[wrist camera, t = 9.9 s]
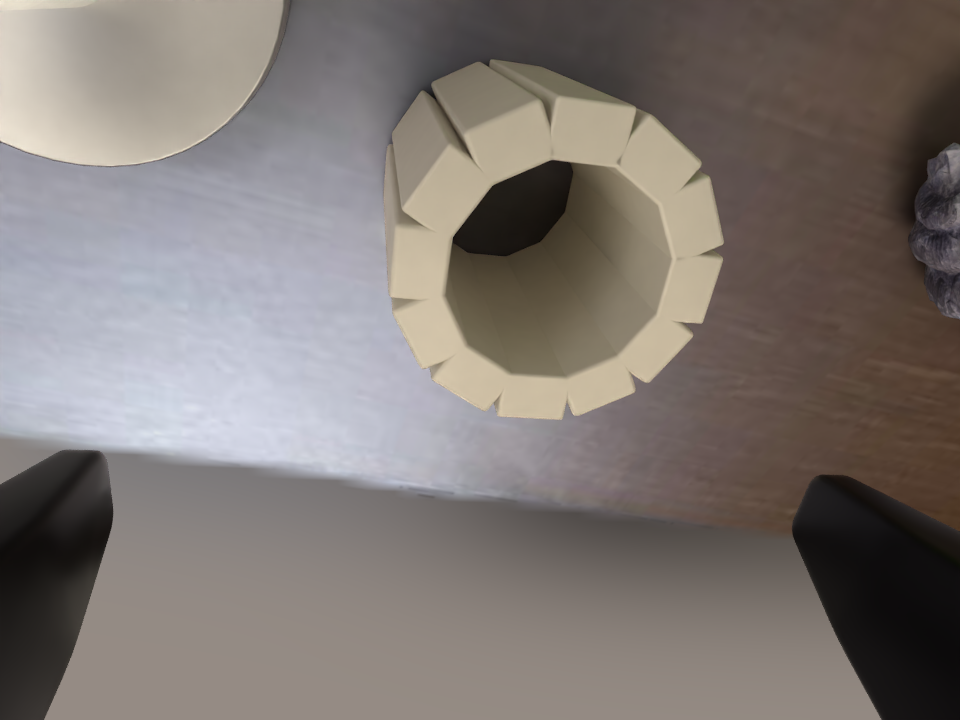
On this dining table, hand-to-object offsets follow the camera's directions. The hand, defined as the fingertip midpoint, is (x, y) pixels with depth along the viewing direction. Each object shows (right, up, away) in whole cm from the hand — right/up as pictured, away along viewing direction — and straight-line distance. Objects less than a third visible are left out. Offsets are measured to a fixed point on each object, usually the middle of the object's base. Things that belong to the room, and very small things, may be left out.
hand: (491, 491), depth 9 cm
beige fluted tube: (0, +6, +10) cm, 12 cm away
